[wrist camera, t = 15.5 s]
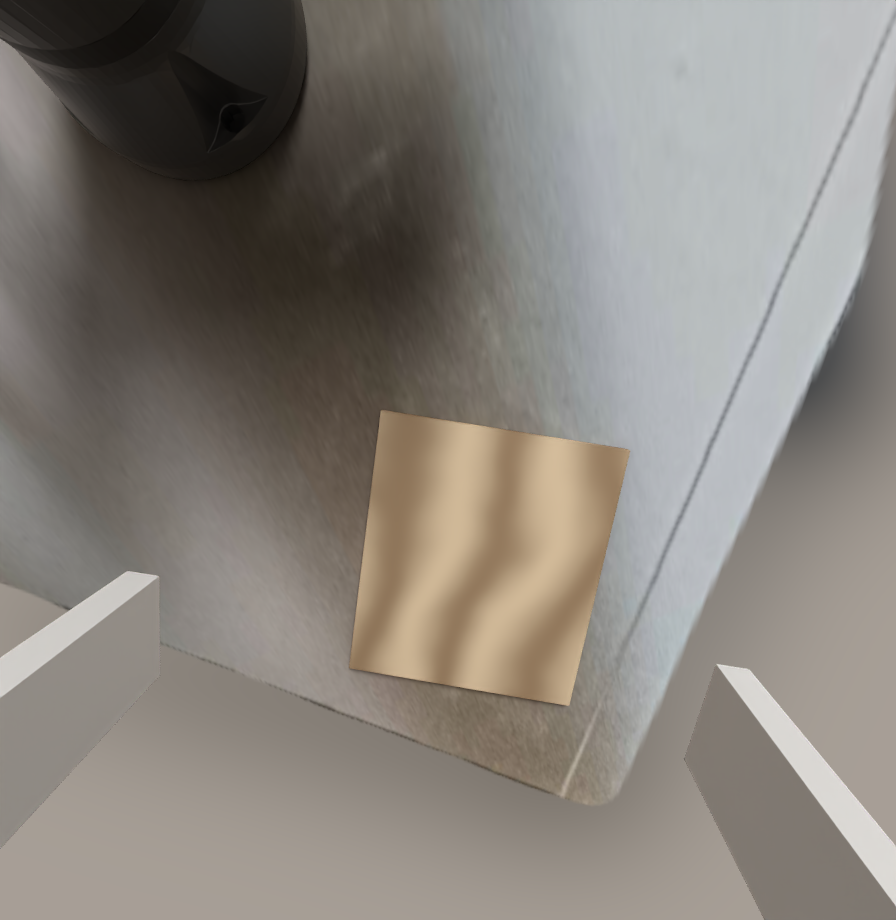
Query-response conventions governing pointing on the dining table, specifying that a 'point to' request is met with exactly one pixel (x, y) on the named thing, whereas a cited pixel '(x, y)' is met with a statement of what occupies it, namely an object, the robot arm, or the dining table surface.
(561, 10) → the dining table surface
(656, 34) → the dining table surface
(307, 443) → the dining table surface
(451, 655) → the cork mat
